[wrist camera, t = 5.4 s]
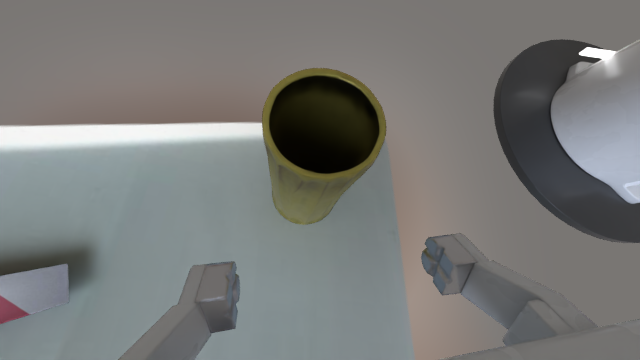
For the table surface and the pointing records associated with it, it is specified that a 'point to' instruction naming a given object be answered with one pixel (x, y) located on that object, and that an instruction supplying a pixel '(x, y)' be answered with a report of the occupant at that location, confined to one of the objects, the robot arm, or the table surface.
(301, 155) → the vase
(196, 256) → the table surface
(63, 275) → the sheathed knife
